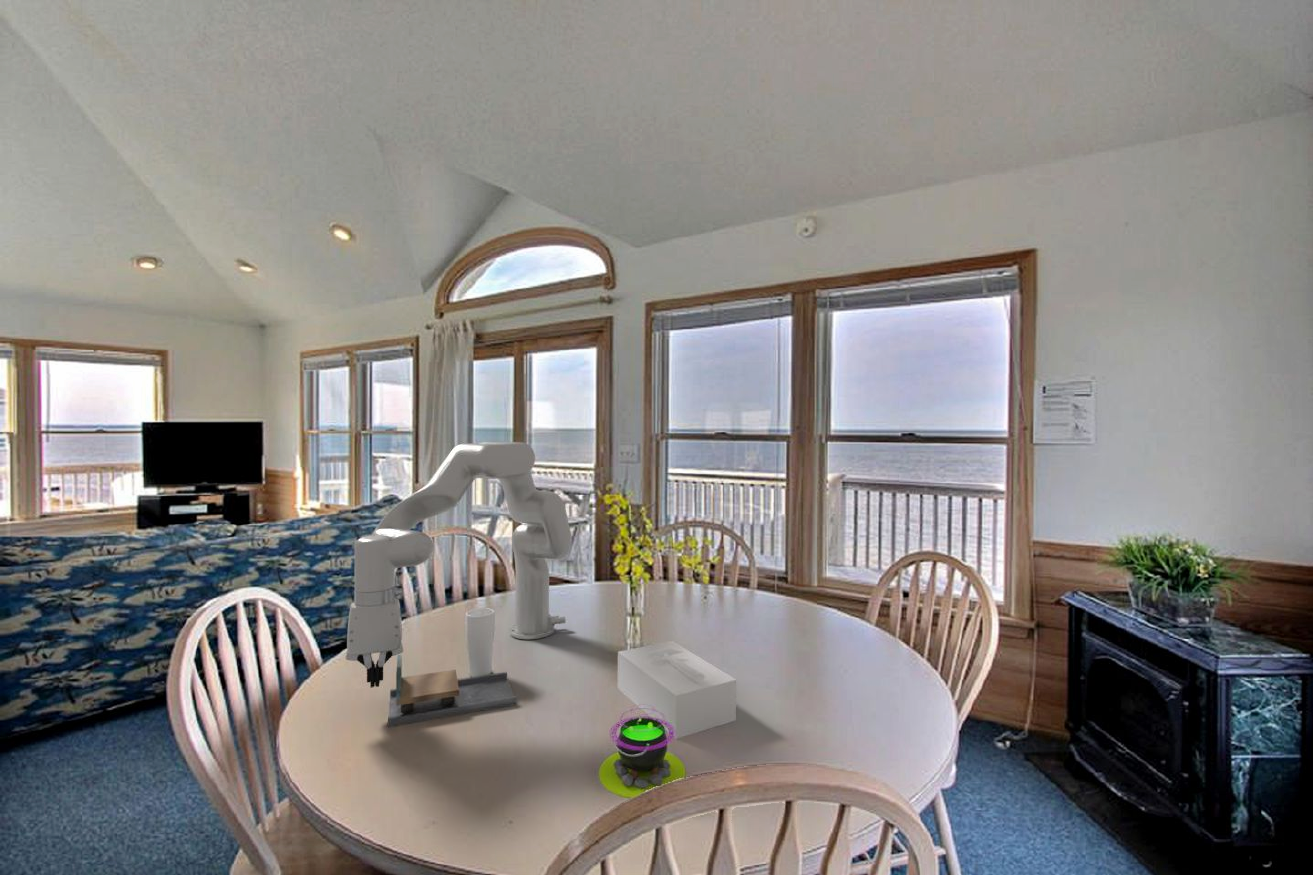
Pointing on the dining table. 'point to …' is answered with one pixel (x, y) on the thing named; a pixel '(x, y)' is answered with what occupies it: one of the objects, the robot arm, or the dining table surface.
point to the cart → (425, 688)
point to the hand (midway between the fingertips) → (375, 684)
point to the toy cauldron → (640, 757)
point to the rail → (458, 700)
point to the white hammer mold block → (677, 687)
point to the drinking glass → (479, 640)
